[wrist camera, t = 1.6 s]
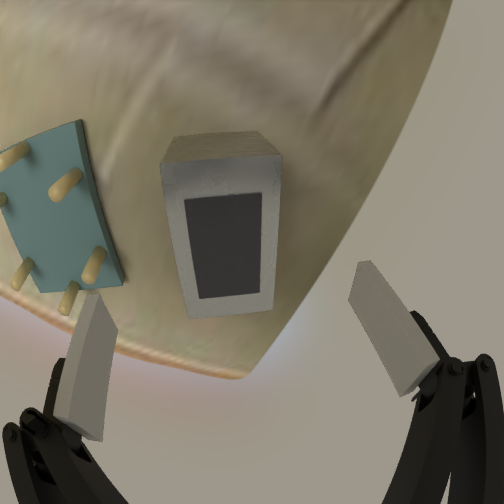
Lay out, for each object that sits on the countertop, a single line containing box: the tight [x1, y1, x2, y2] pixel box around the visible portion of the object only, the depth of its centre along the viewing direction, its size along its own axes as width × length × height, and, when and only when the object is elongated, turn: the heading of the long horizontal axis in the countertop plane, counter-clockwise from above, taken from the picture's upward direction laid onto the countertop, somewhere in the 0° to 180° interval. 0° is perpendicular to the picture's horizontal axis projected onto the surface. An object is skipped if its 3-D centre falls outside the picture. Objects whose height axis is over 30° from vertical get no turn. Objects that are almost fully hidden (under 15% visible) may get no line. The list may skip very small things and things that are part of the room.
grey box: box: [160, 131, 282, 319], centre depth 18 cm, size 11×6×7 cm, turn 0°
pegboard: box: [0, 119, 125, 316], centre depth 17 cm, size 15×10×5 cm
